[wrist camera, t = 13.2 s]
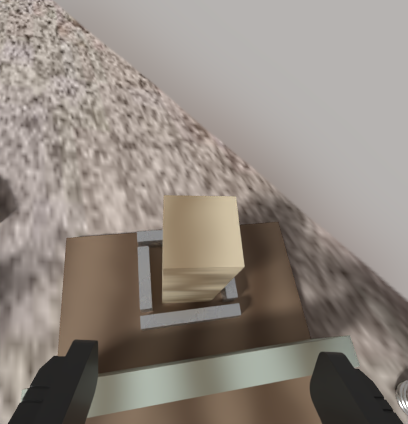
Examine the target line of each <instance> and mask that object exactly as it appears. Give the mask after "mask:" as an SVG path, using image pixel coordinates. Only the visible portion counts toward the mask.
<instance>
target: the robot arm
mask: <svg viewBox="0 0 408 424" xmlns="http://www.w3.org/2000/svg"><path fill="white" fill-rule="evenodd" d="M97 380H98V341H97V340H78V339H75V340H74V341H73V342H72V344H71V346H70V348H69V350H68V352H67V354H66V356H53V357H52V358H51V359H50V360H49V361H48V362H47V363H46V364H45V365H44V366H42V367H41V368H40V369H39V371H38V373H37V374H36V376H35V378H34V380H33V381H32V383H31V385H30V388H29V389H28V390H27V392H26V393H25V395H24V397H23V399H22V402H21V403H20V404H19V405H18V407H17V409H16V411H15V412H14V414H13V416H12V418H11V419H10V421H9V423H8V424H85V422H86V419H87V416H88V413H89V410H90V407H91V403H92V400H93V397H94V394H95V390H96V386H97ZM310 396H311V399H312V402H313V404H314V407H315V409H316V411H317V413H318V416H319V418H320V420H321V422H322V424H403V423H402V421H401V420H400V419H399V417H398V416H397V414H396V413H394V412H393V409H392V408H391V406H390V405H389V403H388V402H387V401H386V400H384V396H383V395H382V394H381V392H380V391H379V389H378V388H377V387H376V385H375V384H374V382H373V381H372V380H370V379H369V378H368V377H367V376H366V375H365V374H364V373H363V372H362V371H360V370H359V369H355V368H354V367H353V365H352V364H351V363H350V361H349V360H348V358H347V357H346V355H345V354H343V353H341V352H320V353H319V355H318V358H317V361H316V364H315V367H314V371H313V374H312V377H311V380H310Z"/></svg>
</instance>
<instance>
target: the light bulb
mask: <svg viewBox="0 0 408 424" xmlns="http://www.w3.org/2000/svg"><path fill="white" fill-rule="evenodd" d="M396 399H397V402H398V405H399V406H400V408H401V409H402V410H403V412H404V413H406V414H407V415H408V380H405V381H403V382H401V383H400V384H399V385H398V387H397V389H396Z"/></svg>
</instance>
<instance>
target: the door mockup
mask: <svg viewBox="0 0 408 424" xmlns="http://www.w3.org/2000/svg"><path fill="white" fill-rule="evenodd" d="M239 226H240V234H241V242H242V250H243V258H244V266H245V267H244V268H243V269H242V270H241V271H240V272H239V273H238V274H237V275H236V276H235V277H234V278H235V284H236V289H237V294H238V298H236V299H235V300H233V301H229V302H223V301H222V295H221V291H220V292H219V293H218V294H217V295H216V296H215V297H214V298H213V299H212V301H210V302H185V303H162V252H163V247H156V248H149V256H150V273H151V290H152V307H153V311H151V312H143V313H141V311H140V298H139V273H138V248H137V247H138V243H137V233H126V234H113V235H99V236H86V237H73V238H67V239H66V252H65V266H64V279H63V292H62V305H61V318H60V332H59V345H58V356H66V354H67V352H68V350H69V348H70V346H71V344H72V342H73V341H74V340H75V339H78V340H97V341H98V380H97V386H96V390H95V394H94V397H93V400H92V403H91V407H90V410H89V413H88V416H87V419H86V422H85V424H322V422H321V420H320V418H319V416H318V413H317V411H316V409H315V407H314V404H313V402H312V399H311V396H310V380H311V377H312V374H313V371H314V367H315V364H316V361H317V358H318V355H319V353H320V352H341V353H343V354H345V355H346V357H347V358H348V360H349V361H350V363H351V364H352V365H353V367H357V366H360V365H359V362H358V359H357V356H356V353H355V350H354V347H353V344H352V341H351V338H350V336H339V337H328V338H317V339H311V337H310V333H309V330H308V326H307V323H306V319H305V316H304V312H303V308H302V305H301V301H300V298H299V294H298V291H297V287H296V283H295V280H294V276H293V273H292V269H291V265H290V262H289V258H288V255H287V251H286V248H285V244H284V240H283V237H282V233H281V230H280V226H279V223H278V222H269V223H256V224H243V225H239ZM236 303H239V305H240V310H241V315H240V316H238V317H236V318H229V319H222V320H215V321H208V322H201V323H194V324H187V325H180V326H172V327H165V328H158V329H151V330H144V331H142V330H141V323H140V316H144V315H152V314H159V313H167V312H175V311H182V310H190V309H198V308H205V307H213V306H221V305H228V304H236ZM28 389H29V388H27V389H24V390H22V396H21V402H22V399H23V397H24V395H25V393H26V392H27V390H28Z"/></svg>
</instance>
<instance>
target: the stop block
mask: <svg viewBox="0 0 408 424" xmlns="http://www.w3.org/2000/svg"><path fill="white" fill-rule="evenodd" d="M244 267H245V266H244V258H243V250H242V242H241V234H240V226H239V218H238V210H237V202H236V197H230V196H174V195H164V204H163V252H162V303H185V302H210V301H212V299H213V298H214V297H215V296H216V295H217V294H218V293H219V292H220V291H221V290H222V289H223V288H224V287H225V286H226V285H227V284H228V283H229V282H230V281H231V280H232V279H233V278H234V277H235V276H236V275H237V274H238V273H239V272H240V271H241V270H242V269H243V268H244Z"/></svg>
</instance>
